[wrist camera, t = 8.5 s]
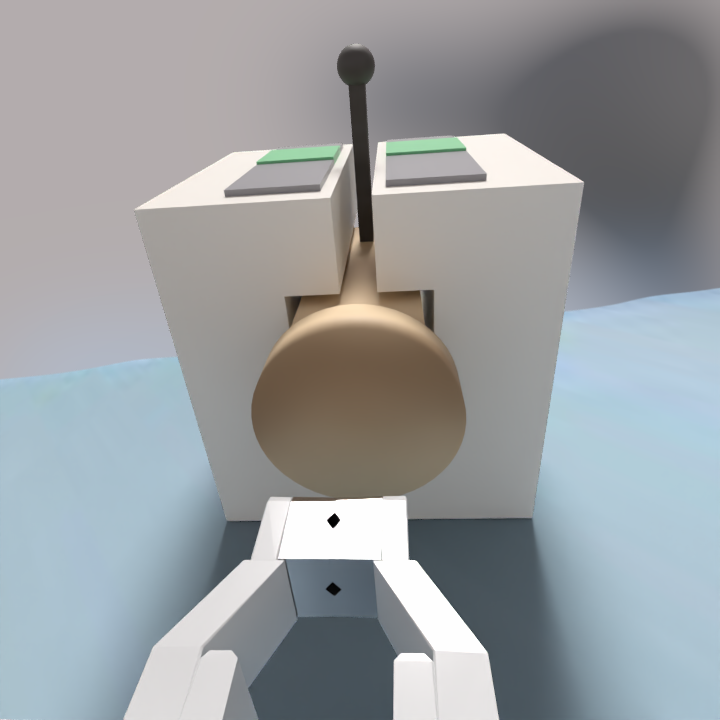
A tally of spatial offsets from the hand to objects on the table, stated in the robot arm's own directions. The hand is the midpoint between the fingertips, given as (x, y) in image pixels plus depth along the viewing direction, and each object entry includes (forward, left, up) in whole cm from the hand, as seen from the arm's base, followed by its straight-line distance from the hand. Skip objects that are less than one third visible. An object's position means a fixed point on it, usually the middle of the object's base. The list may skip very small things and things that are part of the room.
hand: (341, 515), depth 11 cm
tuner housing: (-10, -8, -8) cm, 15 cm away
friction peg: (-8, -6, -3) cm, 10 cm away
